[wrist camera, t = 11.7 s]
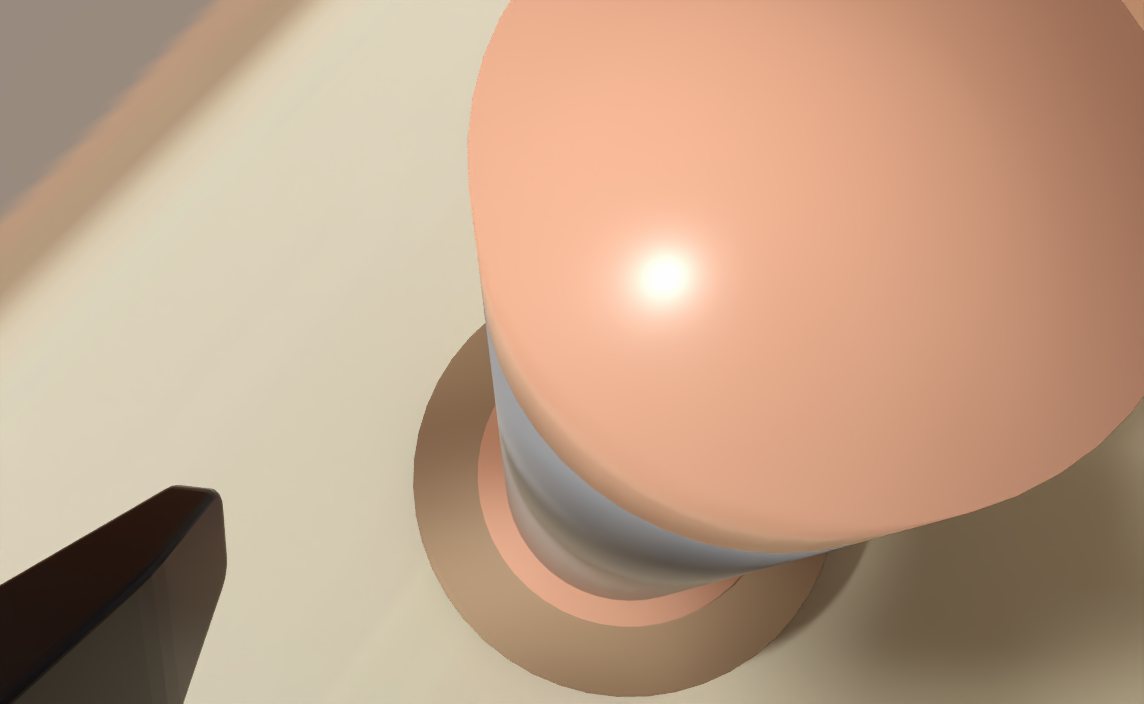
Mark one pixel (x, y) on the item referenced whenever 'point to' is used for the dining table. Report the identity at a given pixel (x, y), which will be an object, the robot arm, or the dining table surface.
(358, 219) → the dining table surface
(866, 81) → the cartridge
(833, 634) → the dining table surface
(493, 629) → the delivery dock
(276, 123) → the dining table surface
